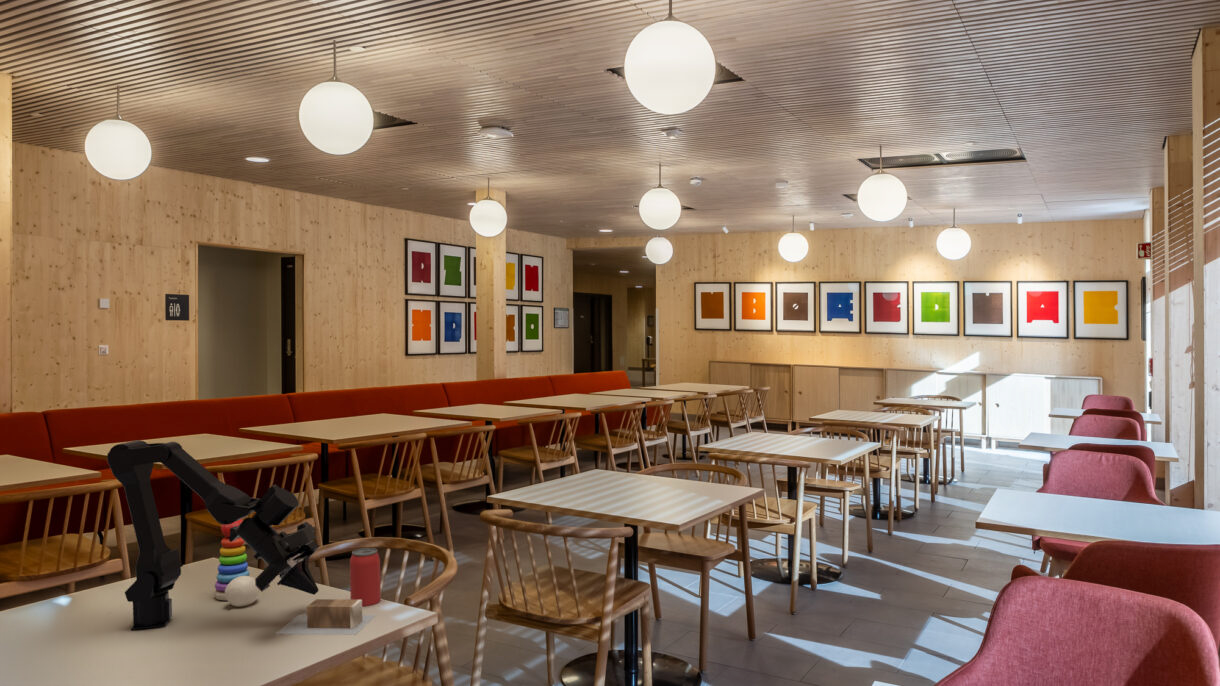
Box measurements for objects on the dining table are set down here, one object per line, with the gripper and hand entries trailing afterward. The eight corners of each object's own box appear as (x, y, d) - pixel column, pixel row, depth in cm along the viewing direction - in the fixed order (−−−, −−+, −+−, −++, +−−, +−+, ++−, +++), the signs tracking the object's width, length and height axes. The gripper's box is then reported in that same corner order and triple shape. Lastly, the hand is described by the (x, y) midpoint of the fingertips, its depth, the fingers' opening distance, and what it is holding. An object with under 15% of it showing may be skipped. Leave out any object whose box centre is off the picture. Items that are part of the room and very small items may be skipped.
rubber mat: (275, 635, 166) (275, 633, 166) (299, 616, 177) (299, 614, 176) (356, 636, 164) (356, 634, 164) (375, 617, 175) (375, 615, 175)
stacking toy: (242, 601, 187) (239, 521, 186) (207, 602, 187) (205, 521, 186) (257, 590, 195) (255, 513, 194) (224, 590, 195) (222, 513, 194)
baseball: (233, 600, 188) (232, 572, 187) (264, 600, 187) (263, 572, 187) (218, 611, 181) (217, 581, 181) (250, 611, 180) (249, 581, 180)
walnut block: (306, 606, 168) (353, 606, 168) (316, 599, 173) (361, 599, 172) (307, 627, 168) (354, 628, 168) (316, 620, 173) (362, 620, 172)
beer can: (386, 600, 186) (385, 548, 186) (367, 610, 180) (365, 556, 180) (364, 597, 189) (363, 546, 188) (344, 606, 183) (343, 553, 182)
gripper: (268, 524, 161) (323, 579, 161) (309, 503, 180) (359, 553, 179) (231, 563, 162) (286, 618, 161) (276, 539, 181) (325, 588, 180)
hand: (316, 592), depth 170 cm, fingers closed
